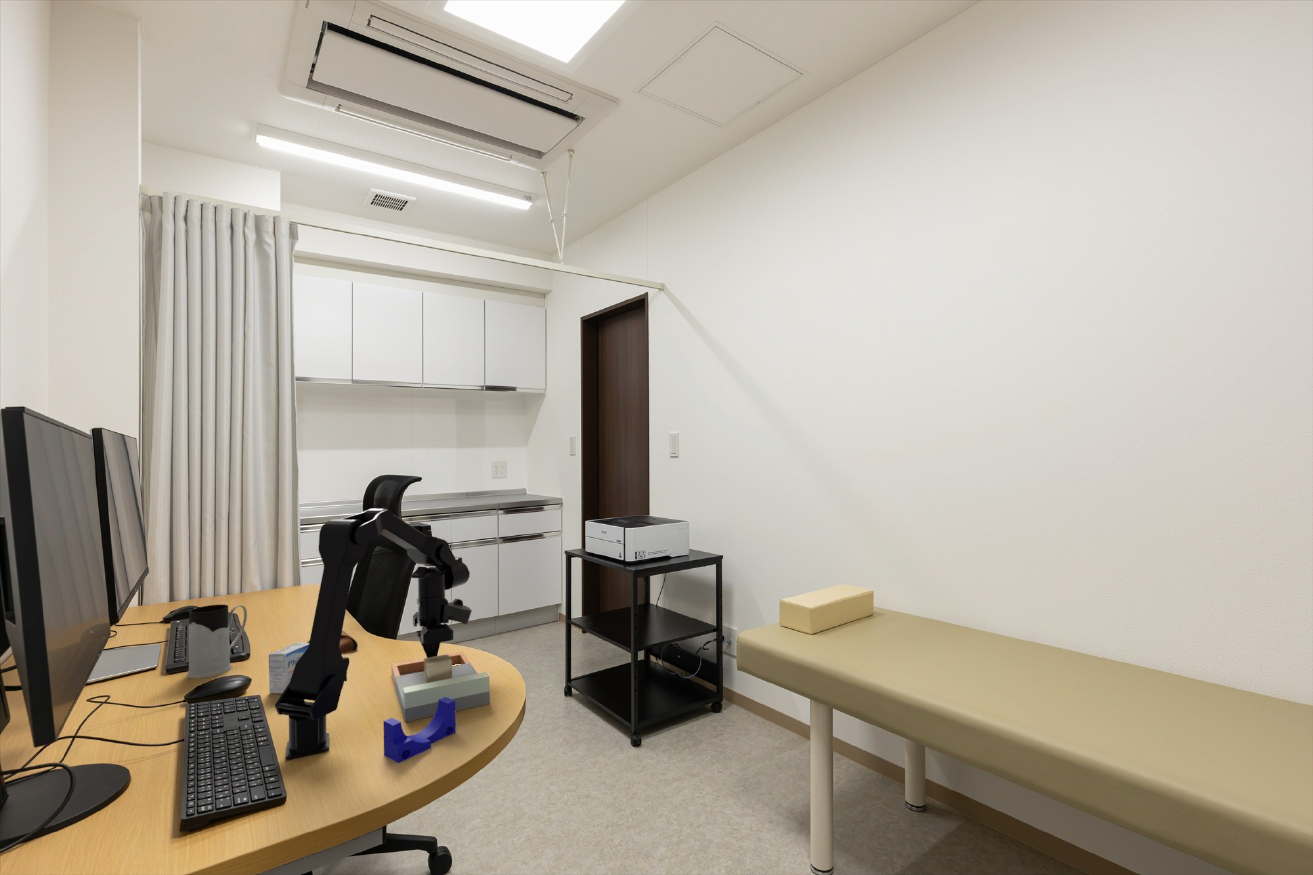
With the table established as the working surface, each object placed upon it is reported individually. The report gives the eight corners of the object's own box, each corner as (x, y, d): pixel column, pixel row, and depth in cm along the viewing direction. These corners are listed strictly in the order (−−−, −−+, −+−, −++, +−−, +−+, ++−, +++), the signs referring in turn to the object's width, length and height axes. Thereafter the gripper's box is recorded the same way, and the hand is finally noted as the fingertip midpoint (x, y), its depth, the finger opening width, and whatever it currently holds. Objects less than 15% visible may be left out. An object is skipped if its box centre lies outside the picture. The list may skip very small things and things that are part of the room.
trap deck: (489, 703, 123) (489, 676, 123) (405, 721, 115) (404, 693, 115) (462, 661, 147) (462, 639, 148) (391, 674, 140) (391, 650, 140)
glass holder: (176, 676, 141) (176, 612, 142) (232, 656, 155) (232, 597, 155) (206, 679, 139) (206, 614, 139) (260, 658, 153) (259, 599, 153)
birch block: (452, 679, 130) (451, 660, 130) (427, 684, 127) (427, 665, 127) (448, 672, 134) (447, 654, 134) (424, 676, 132) (423, 658, 132)
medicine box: (286, 695, 129) (285, 654, 130) (268, 693, 130) (267, 653, 130) (313, 680, 137) (313, 642, 137) (297, 679, 138) (296, 641, 138)
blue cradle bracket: (398, 764, 100) (397, 727, 100) (384, 756, 103) (383, 720, 103) (460, 735, 110) (460, 702, 110) (446, 729, 112) (445, 696, 112)
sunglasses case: (303, 642, 165) (317, 618, 168) (328, 649, 170) (341, 626, 172) (322, 657, 152) (337, 631, 155) (348, 665, 157) (362, 640, 159)
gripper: (476, 598, 133) (477, 669, 132) (460, 582, 149) (461, 646, 149) (423, 605, 127) (423, 680, 127) (412, 588, 144) (412, 654, 143)
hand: (432, 663), depth 137 cm, fingers closed
